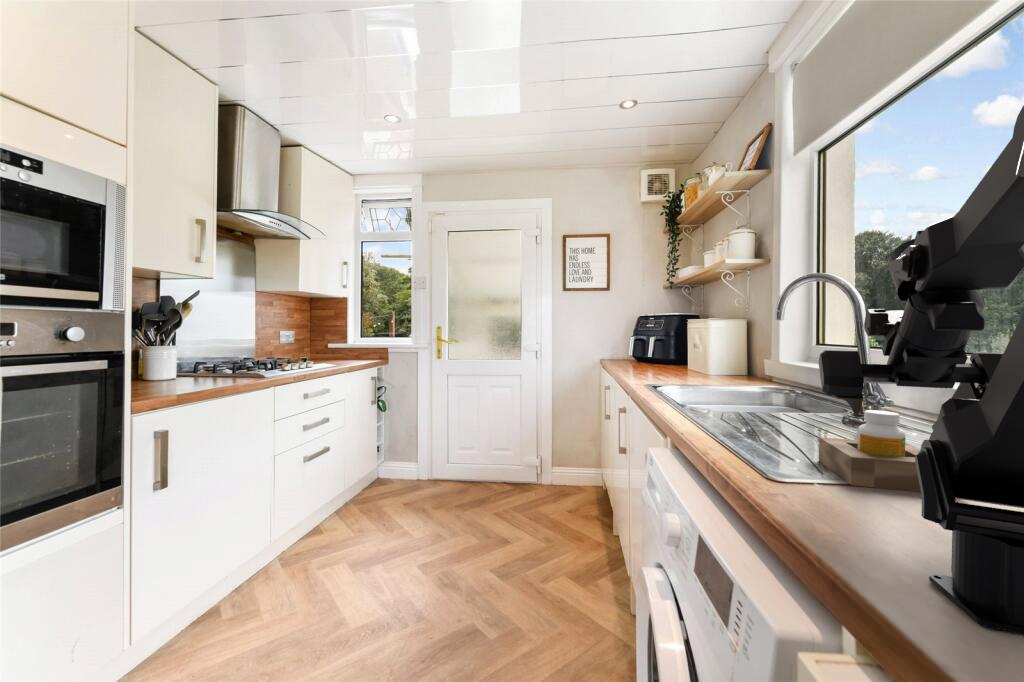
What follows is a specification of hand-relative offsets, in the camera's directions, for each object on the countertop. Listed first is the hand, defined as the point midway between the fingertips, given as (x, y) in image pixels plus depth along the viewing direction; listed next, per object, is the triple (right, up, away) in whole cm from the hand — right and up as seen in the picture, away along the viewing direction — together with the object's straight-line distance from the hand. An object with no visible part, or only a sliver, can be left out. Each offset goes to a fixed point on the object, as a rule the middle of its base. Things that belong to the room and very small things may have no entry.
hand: (899, 415), depth 57 cm
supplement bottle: (+4, -11, +7) cm, 13 cm away
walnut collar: (+4, -10, +7) cm, 13 cm away
